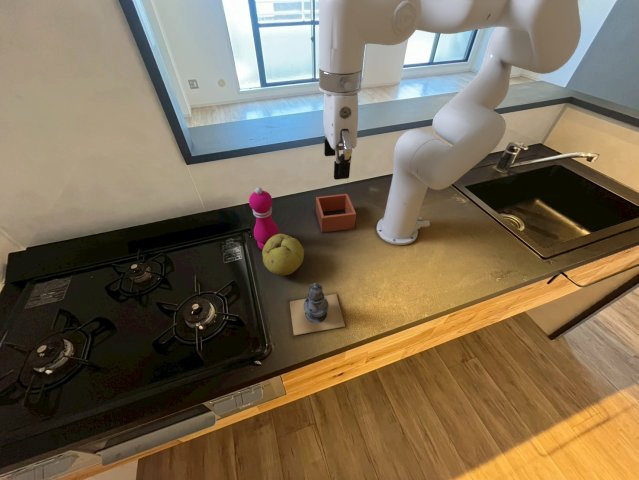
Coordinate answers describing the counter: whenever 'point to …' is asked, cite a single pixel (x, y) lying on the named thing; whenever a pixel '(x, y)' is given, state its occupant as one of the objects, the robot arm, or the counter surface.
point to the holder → (335, 220)
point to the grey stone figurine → (316, 304)
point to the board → (305, 326)
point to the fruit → (282, 254)
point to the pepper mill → (262, 216)
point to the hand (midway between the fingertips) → (336, 166)
